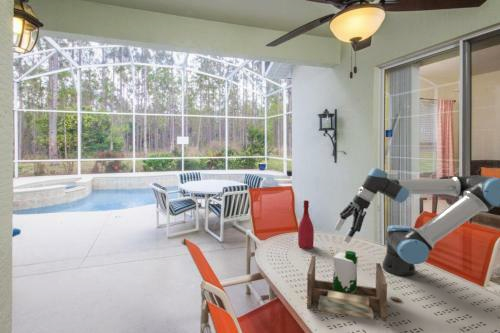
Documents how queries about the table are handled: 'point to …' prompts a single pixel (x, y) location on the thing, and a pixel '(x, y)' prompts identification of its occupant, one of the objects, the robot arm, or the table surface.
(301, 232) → the wine bottle
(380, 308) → the walnut rack
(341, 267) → the soya milk
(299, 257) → the table surface
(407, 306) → the table surface
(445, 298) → the table surface
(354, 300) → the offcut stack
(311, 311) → the table surface
